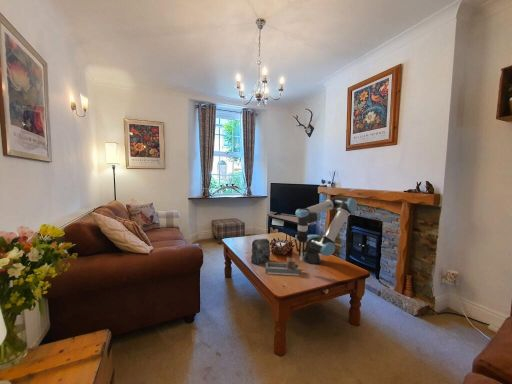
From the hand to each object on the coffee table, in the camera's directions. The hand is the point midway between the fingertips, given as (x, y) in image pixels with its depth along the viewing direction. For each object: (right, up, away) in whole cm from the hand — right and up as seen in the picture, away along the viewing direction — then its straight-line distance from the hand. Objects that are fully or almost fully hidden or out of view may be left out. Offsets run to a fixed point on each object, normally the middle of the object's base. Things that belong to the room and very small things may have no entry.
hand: (301, 260), depth 174 cm
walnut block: (-8, -8, +2) cm, 11 cm away
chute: (-14, -9, +2) cm, 17 cm away
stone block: (-30, -7, +20) cm, 37 cm away
